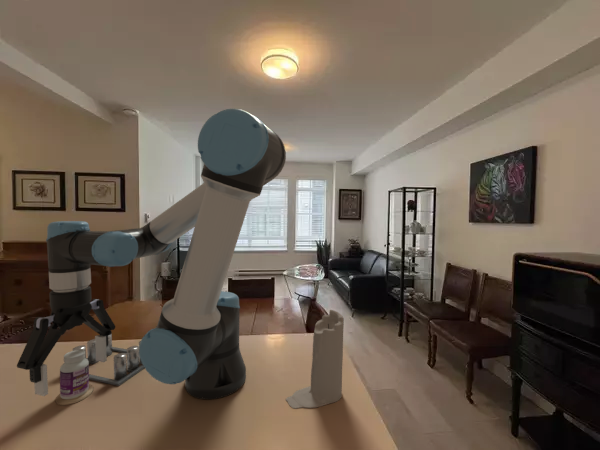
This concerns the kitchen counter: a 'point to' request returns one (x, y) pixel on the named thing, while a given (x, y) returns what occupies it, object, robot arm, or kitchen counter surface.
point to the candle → (324, 365)
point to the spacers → (115, 358)
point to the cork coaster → (75, 400)
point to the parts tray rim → (112, 381)
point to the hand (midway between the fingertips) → (74, 375)
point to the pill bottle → (74, 375)
